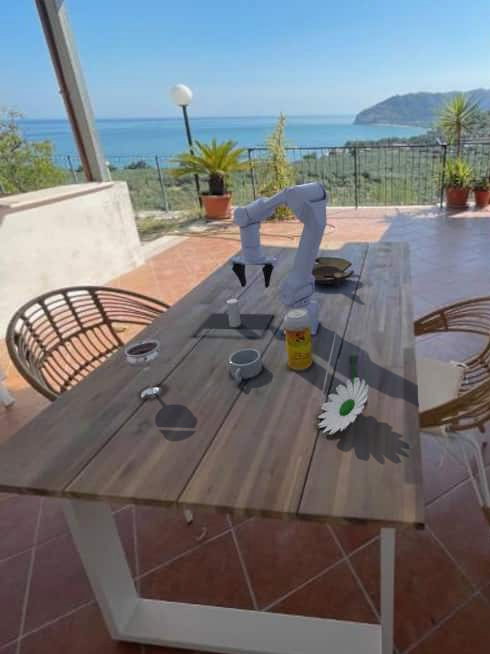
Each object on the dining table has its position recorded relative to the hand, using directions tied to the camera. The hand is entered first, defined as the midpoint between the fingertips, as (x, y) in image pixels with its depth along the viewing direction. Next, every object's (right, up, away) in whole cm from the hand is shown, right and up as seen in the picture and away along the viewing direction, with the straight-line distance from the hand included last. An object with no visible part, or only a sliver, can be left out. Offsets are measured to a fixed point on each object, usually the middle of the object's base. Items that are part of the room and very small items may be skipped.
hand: (255, 286), depth 123 cm
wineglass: (-15, -24, -34) cm, 44 cm away
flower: (+31, -24, -35) cm, 53 cm away
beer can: (+18, -20, -24) cm, 36 cm away
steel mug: (+5, -21, -28) cm, 35 cm away
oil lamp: (+20, +1, +29) cm, 35 cm away
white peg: (-5, -12, -5) cm, 13 cm away
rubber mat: (-5, -12, -4) cm, 14 cm away
